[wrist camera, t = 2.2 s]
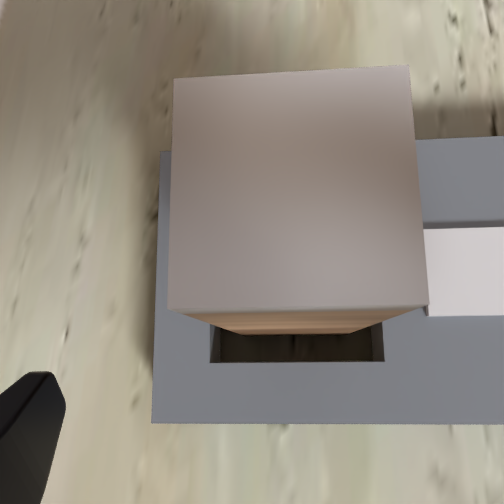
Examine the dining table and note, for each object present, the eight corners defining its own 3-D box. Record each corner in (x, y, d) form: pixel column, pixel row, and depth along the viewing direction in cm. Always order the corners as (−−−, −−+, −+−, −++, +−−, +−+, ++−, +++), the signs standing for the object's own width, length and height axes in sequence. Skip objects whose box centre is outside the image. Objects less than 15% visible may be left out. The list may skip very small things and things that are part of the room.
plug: (345, 334, 19) (430, 304, 7) (245, 336, 19) (167, 308, 7) (340, 236, 20) (408, 64, 8) (244, 239, 20) (173, 78, 8)
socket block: (598, 414, 17) (654, 426, 15) (169, 414, 19) (148, 424, 16) (558, 159, 19) (601, 127, 17) (176, 174, 21) (158, 148, 18)
